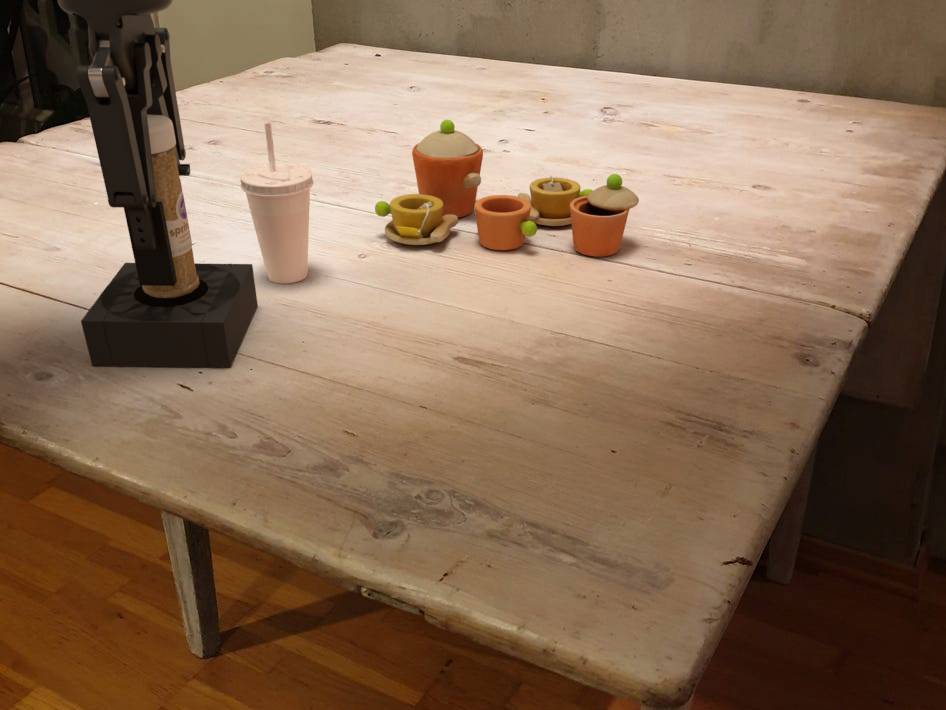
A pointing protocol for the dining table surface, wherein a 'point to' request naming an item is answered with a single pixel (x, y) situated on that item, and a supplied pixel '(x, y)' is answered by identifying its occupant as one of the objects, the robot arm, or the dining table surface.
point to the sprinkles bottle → (171, 208)
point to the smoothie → (280, 214)
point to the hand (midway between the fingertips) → (167, 269)
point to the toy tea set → (500, 202)
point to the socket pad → (172, 320)
